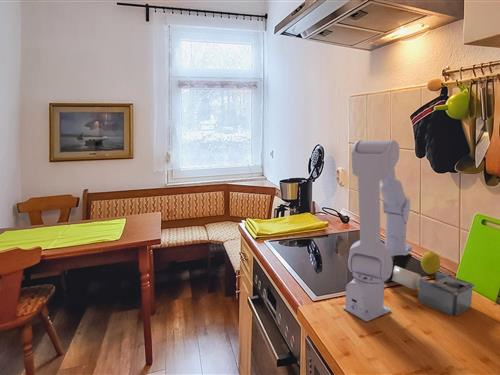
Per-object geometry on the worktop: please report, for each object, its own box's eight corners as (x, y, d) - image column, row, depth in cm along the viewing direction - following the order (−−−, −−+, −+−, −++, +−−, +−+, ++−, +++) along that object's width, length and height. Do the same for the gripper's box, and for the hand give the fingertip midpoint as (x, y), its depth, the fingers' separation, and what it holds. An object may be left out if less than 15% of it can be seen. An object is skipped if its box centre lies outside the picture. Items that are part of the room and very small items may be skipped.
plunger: (461, 290, 86) (461, 283, 86) (455, 292, 85) (455, 285, 84) (450, 286, 88) (450, 279, 88) (444, 288, 87) (444, 281, 87)
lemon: (442, 278, 104) (443, 254, 103) (423, 277, 106) (424, 253, 104) (436, 271, 110) (437, 248, 109) (418, 270, 111) (419, 247, 110)
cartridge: (421, 287, 97) (422, 271, 96) (410, 292, 95) (411, 275, 94) (391, 276, 106) (392, 261, 105) (381, 279, 103) (381, 264, 102)
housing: (472, 307, 87) (474, 284, 86) (453, 317, 83) (455, 293, 82) (436, 293, 95) (438, 271, 94) (417, 301, 91) (419, 279, 90)
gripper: (391, 242, 93) (389, 288, 95) (422, 234, 100) (419, 276, 102) (370, 236, 99) (369, 279, 101) (401, 229, 106) (399, 269, 108)
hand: (393, 277), depth 102 cm, fingers closed on cartridge, 5 cm apart
